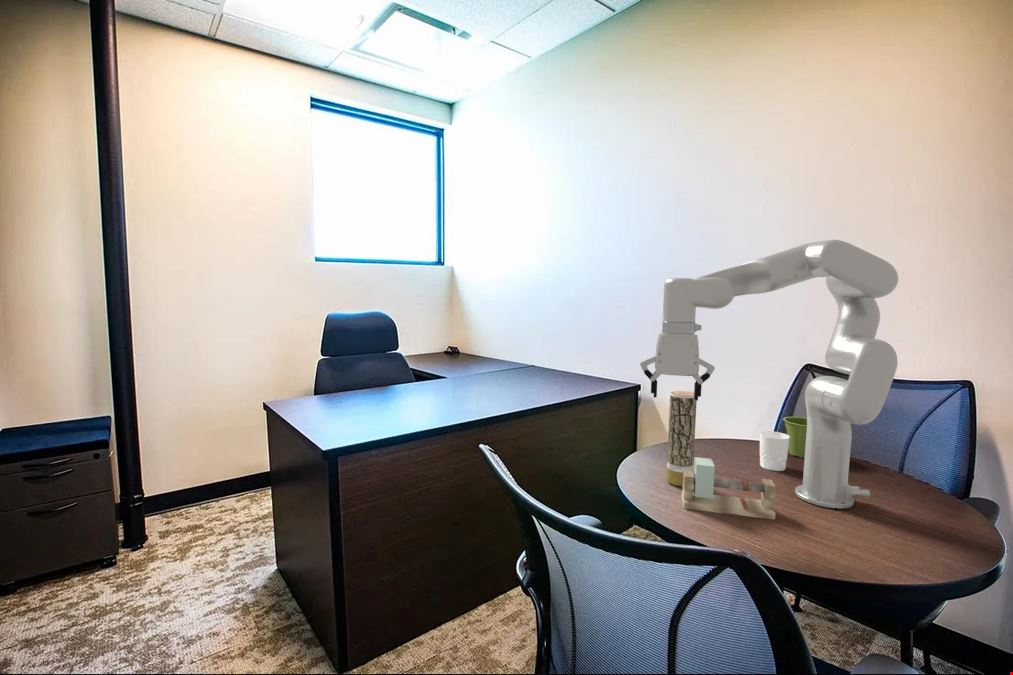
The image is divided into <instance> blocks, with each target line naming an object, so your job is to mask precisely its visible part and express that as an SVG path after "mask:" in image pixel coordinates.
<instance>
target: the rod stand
mask: <svg viewBox="0 0 1013 675" xmlns="http://www.w3.org/2000/svg"><path fill="white" fill-rule="evenodd" d="M695 479H696V476H694V472H693V473H692V471H684V473H683V487H682V491H681V499H682V506H683V509H687V510H695V511H701V512H702V511H703V512H710V513H711V512H712V513H718V514H727V515H734V516H741V517H742V516H745V517H749V518H758V519H759V518H760V519H765V520H766V519H767V520H776V512H775V500H776V498H775V497H776V485H775V483H774V482H773V480H772V479H766V478H761V483H760V482H753V481H748V480H742V481H741V480H733V479H723V478H715V477H714V488H723V489H731V490H741V491H743V492H759V493H760V494H761V495H760V499H755V498H746V497H738V496H737V497H736V496H728V495H720V494H719V495H718V494H713V499H711V498H702V497H695V494H694V490H693V484H694V485H695Z"/></svg>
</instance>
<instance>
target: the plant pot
mask: <svg viewBox="0 0 1013 675" xmlns="http://www.w3.org/2000/svg"><path fill="white" fill-rule="evenodd" d="M782 420H783V421H784V423H785V426H784V427H785V429H786V435H788V436H790V440H789V448H788V454H790V455H791V456H793V457H794V456H796V457H798V458H801V459H805V446H806V433H807V417H803V416H802V417H799V416H786V417H783V419H782Z"/></svg>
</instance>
